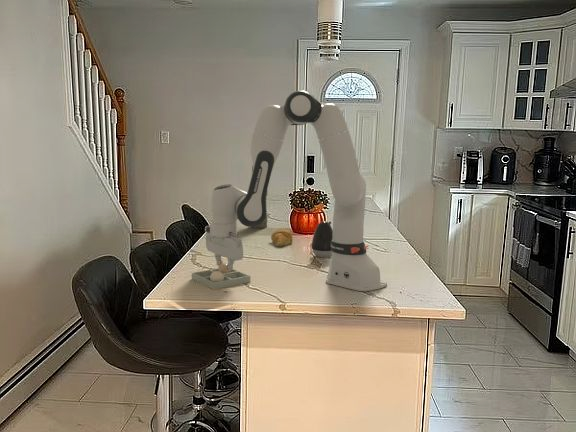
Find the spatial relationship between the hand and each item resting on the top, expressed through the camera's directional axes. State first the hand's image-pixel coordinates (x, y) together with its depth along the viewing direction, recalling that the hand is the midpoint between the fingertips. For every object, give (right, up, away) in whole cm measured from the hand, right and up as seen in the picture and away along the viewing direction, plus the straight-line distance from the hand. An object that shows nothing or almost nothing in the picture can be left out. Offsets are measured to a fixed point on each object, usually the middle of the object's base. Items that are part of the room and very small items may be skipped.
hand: (224, 267), depth 200 cm
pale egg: (-1, -5, -10) cm, 11 cm away
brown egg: (0, -3, +1) cm, 3 cm away
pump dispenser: (+38, +1, +36) cm, 52 cm away
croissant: (+20, +6, +61) cm, 64 cm away
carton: (-1, -5, -4) cm, 7 cm away
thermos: (+7, +13, +99) cm, 100 cm away
